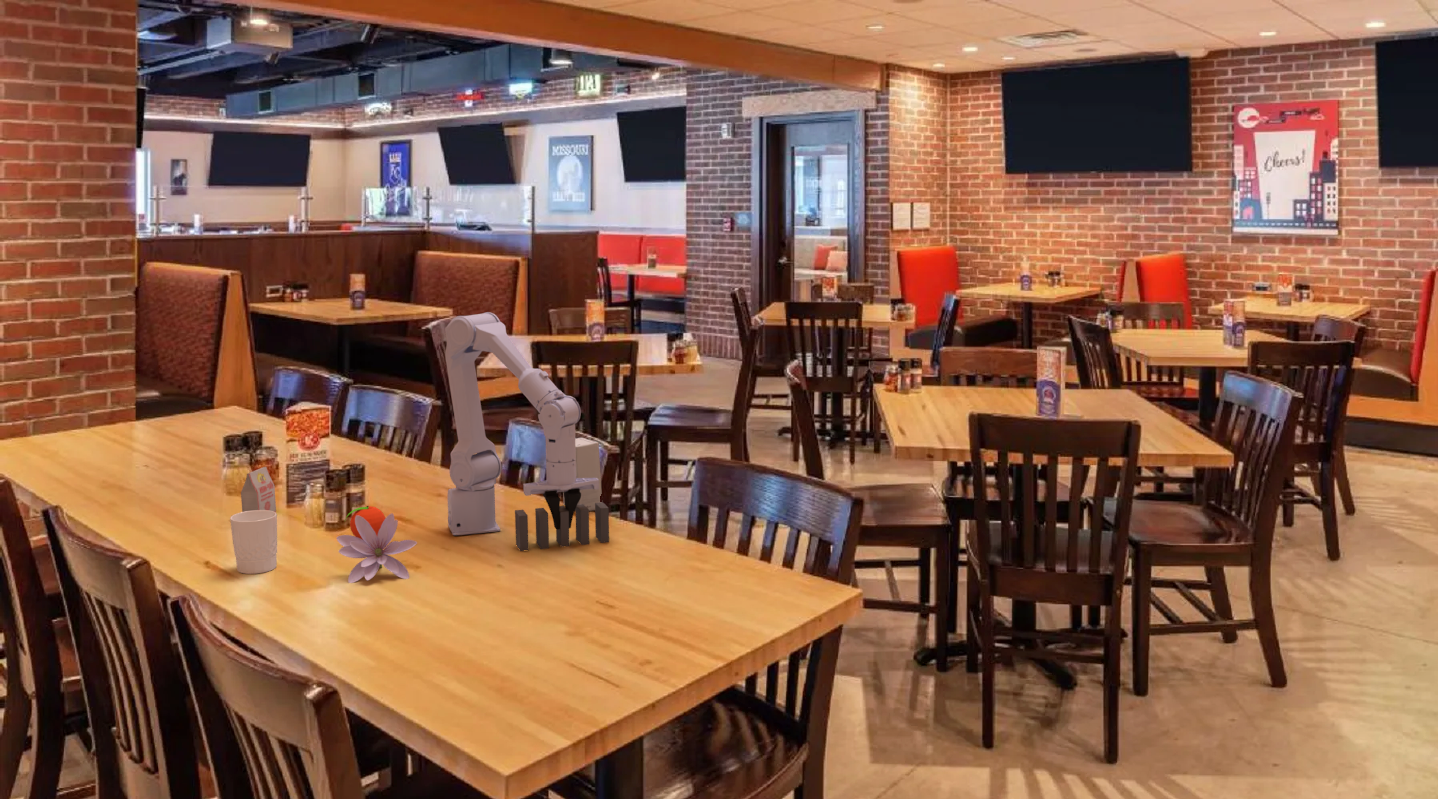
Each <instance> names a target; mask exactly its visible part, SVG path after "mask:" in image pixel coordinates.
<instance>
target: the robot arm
mask: <svg viewBox="0 0 1438 799" xmlns="http://www.w3.org/2000/svg"><path fill="white" fill-rule="evenodd" d="M506 328H507V327H506V325H505V324H504V323H503V322H502V321H501V320H500V319H499V317H498V315H497V314H495V313H493V312H489V311H487V312H483V313H478V314H470V315H457V316H455V317H453V318H452V319H451V320H450V322H449V323H448V324H447V326H445V327H444V331H445V332H444V333H445V339H446V347H445V353H444V354H445V356H444V357H445V362H446V363H445V364H446V370H447V377H448V383H449V390H450V396H451V402H452V409H453V414H454V421H455V422H454V424H455V428H456V429H455V430H456V434H457V435H456V436H457V440H458V441H457V442H456V444H455V445H454V447H453V449H452V451H451V452H450V466H449V477H450V480H451V482H452V483H453V484H454V486H455V487H452V488H449V489H448V490H447V514H448V515H447V526H448V528H449V530H450V532H451V534H452V535H453V536H462V535H474V534H484V533H494V532H500V531H501V528H500V526H499V525H498V523H497V521H496V500H495V499H496V497H495V496H496V494H495V485H496V484H497V479H498V478H499V477H500V475H501V474H502V466H503V464H502V461H501V458H500V457H499V454H498V453H497V449H496V445H495V444H494V443H493V442H492V441H491V440H489V439H488V438H487V436H486V431H485V430H486V429H485V423H484V416H483V410H482V405H481V404H482V403H481V396H480V390H479V385H478V379H477V370H476V364H475V361H476V360H477V359H478V357H479V356H480V355H481V354H482V352H487V353H492V354H493V355H494V356H495V357H496V358H497V359H498V361H500V362H501V363H502V364H503V365H504V366H505V367H506V369H507V370H509V372H511V373H512V374H513V375H514V376H515V377H516V378H517V379H518V387H517V388H518V390H519V391H520V392H521V393H522V394H523V396H525V397H526V399H527V400H528V401H529V402H530V404H531V405H532V406H533V407H534V408H535V410H537V412H538V414H537V417H538V421H539V423H540V425H541V426H542V429H543V436H544V438H545V468H546V470H545V471H546V474H545V475H546V480H539V481H536V482H528V483H523V484H522V485H523V494H524V495H525V496H528V497H529V496H531V495H539V494H542V495H543V497H544V499H545V501H546V504H547V506H548V509H549V511H550V514H551V517H552V521H553V526H554V529H555V530H556V529H560V517H559V507H560V506H561V504H560V503H561V497H560V496H559V493H561V492H562V493H563V492H564V501H565V506H564V507H565V508H566V509H567V510H568V511H569V529H571V528H572V522H573V518H574V514H575V512H576V510H575V509H576V506H577V504H578V502H579V500H580V498H581V493H580V490H586V489H594V490H596V489H599V480H598V479H597V478H576V447H575V439H576V424H577V423H578V422H579V421H580V419H581V413H582V411H581V407H580V404H579V403H578V401H577V399H576V398H575V397H573V396H571V395H566V394H565V393H564V392H562V390H561V389H559V388H558V387H557V385H555V383H554V382H553V381H552V380H551V379H550V377H549V376H550V375H549V374H548V372H546V370H544V371H543V370H542V369H541V368H534V367H532V366H531V364H530V363H529V362H528V361H527V359H526V358H525V357H524V355H523V354H522V352H521V351H520V350H519V348H518V347H517V346H516V344H515V343H514V342H513V340H512V339H511V338H510V336H509V335H508V334H507V329H506ZM564 501H563V502H564Z"/></svg>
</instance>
